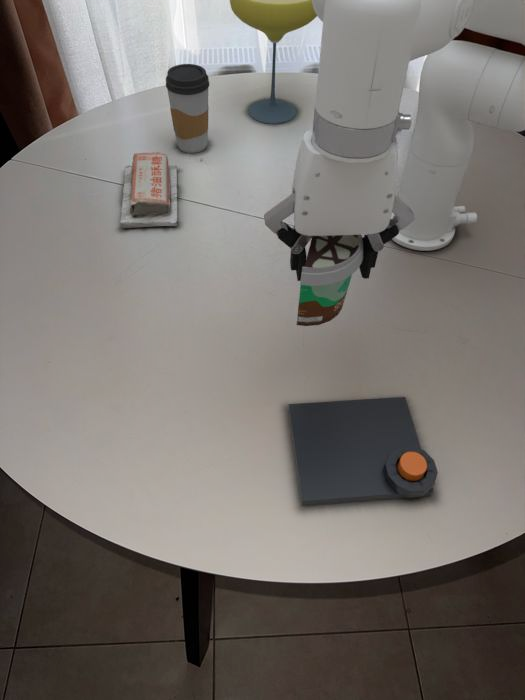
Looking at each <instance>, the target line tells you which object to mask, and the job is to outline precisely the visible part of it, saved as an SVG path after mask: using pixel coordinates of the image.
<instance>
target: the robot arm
mask: <svg viewBox="0 0 525 700" xmlns="http://www.w3.org/2000/svg"><path fill="white" fill-rule="evenodd" d="M312 4H313V8H314V11H315V12H316V14H317V18H318V19H319V20H320V21H321V22H322V28H321V39H320V50H319V61H318V70H317V80H316V81H317V83H316V90H315V92H316V93H315V103H314V110H313V111H314V112H313V120H312V121H313V122H312V129H307V130H306V131H305V132H304V134H303V136H302V139H301V141H300V145H299V149H298V153H297V156H296V157H297V158H296V161H295V167H294V173H293V179H292V187H291V194H289V195H288V196H287V197H286V198H284V199H282V200H281V201H280V202H279V203H277V204H276V205H275V206H273V207H272V208H271V209H269V210H268V211H266V212H265V213H264V214H263V218H264V225H265V226H266V227H267V228H268V229H269V230H270V231H271V232H272V233H273V234H275V235H276V236H277V238H278V240H279V241H281V242H282V243H283V244H284V245H286V246H287V247H288V248H289V249H290V258H289V267H290V271H295V274H296V279H297V282H300V280H301V273H302V267H305V263H306V259H307V250H306V246H307V245H308V244H309V242H311V239H312V237H313V236H330V235H363V236H362V239H363V250H364V254H363V260H362V263H361V265H360V267H359V268H358V269H359V272H360V276H361V278H363V279H364V280H365V279H366V280H367V279H368V280H369V278H370V274H371V270H372V269H374V268H375V267H376V265H377V259H378V255H379V252H381V251H382V250H384V248H385V244H387V243H389V242H390V241H393V242H394V243H396V244H397V245H400V246H401V247H403V248H406V249H410V250H412V251H413V250H414V251H420V252H421V251H423V252H425V251H426V252H429V251H435V250H440V249H442V248H444V247H446V246H448V245H449V244H450V243H451V242H452V240H453V238H454V236H455V233H456V227H459V225H461V224H463V225H473V224H474V225H475V224H476V223H477V221H478V214H477V213H476V212H466V206H465V205H456V201H457V199H458V195H459V192H460V190H461V186H462V183H463V180H464V177H465V174H466V171H467V168H468V165H469V162H470V159H471V157H472V154H473V150H474V145H475V135H474V128H473V125H472V122H473V123H477V124H479V125H484V126H487V127H490V128H493V129H496V130H501V131H505V132H509V133H520V132H523V131H525V55H522V54H517V53H513V52H510V51H505V50H501V49H498V48H495V47H491V46H487V45H484V44H479V43H475V42H472V41H466V40H455V38H457V37H458V36H459V35H461V33H462V32H463V31H464V29H467V30H470V31H471V32H475V33H479V34H483V35H487V36H491V37H495V38H498V39H502V40H506V41H510V42H515V43H518V44H522V45H523V46H524V47H525V0H312ZM425 56H426V57H425ZM422 57H425V59H424V61H423V63H422V67H421V70H420V76H419V87H418V101H417V102H418V103H417V112H416V117H415V118H416V119H415V124H414V127H413V128H414V129H413V133H412V137H411V141H410V145H409V150H408V155H407V158H406V161H405V166H404V171H403V175H402V180H401V183H400V186H399V187H400V188H399V191H398V195H396V190H397V188H396V187H397V178H398V165H399V163H398V162H399V161H398V160H399V151H398V149H399V147H398V141H397V135H398V132H402V131H403V130H410V129H411V127H412V115H411V113H408V114H404V113H403V112H400V107H401V102H402V97H403V93H404V88H405V84H406V79H407V73H408V69H409V65H410V62H412V61H414V60H417V59H419V58H422ZM291 215H293V222H294V225H293V226H292V227H291V226H290V225H289V224H288V223H286V222H284V220H286V219H287V218H288V217H290V216H291Z"/></svg>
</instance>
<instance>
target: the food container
mask: <svg viewBox="0 0 525 700" xmlns="http://www.w3.org/2000/svg"><path fill="white" fill-rule="evenodd" d="M362 238H363V234H361V235H330V236H313V237H312V238H311V240H310V244H309V246H308V247H309V248H308V252H307V254H306V263H305V267H302V273H301V280H300V281H299V285H300V287H299V297H298V305H297V306H298V307H297V318H296V326H301V327H313V326H314V327H315V326H321V325H324V324H325V323H328V322H331V321H332V320H334V319H335V318H337V316H339V314H340V313H341V311H342V310H343V306H344V303H345V299H346V297H347V294H348V291H349V290H348V289H349V286H350V283H351V280H352V276H353V274H355V273H356V271H358V269H360V268H359V267H360V265H361V263H362V260H363V254H364V250H363V239H362Z"/></svg>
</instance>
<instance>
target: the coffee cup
mask: <svg viewBox="0 0 525 700" xmlns="http://www.w3.org/2000/svg"><path fill="white" fill-rule="evenodd" d="M209 79H210V78H209V75H208V74H207V71H206V69H205V67H203V66H200V65H199V64H194V63H182V64H181V63H180V64H177V65H173V66H171V67H170V68H168V70H167V74H166V77H165V87H166V89H167V96H168V102H169V109H170V116H171V122H172V127H173V132H174V135H175V141H176V146H177V148H178V149H179V150H180V151H182V152H184V153H186V154H187V153H188V154H195V153H199V152H202V151H204V150H205V149H206V148H207V145H208V144H209V143H208V140H209V108H210V107H209V87H210V80H209Z"/></svg>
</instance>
